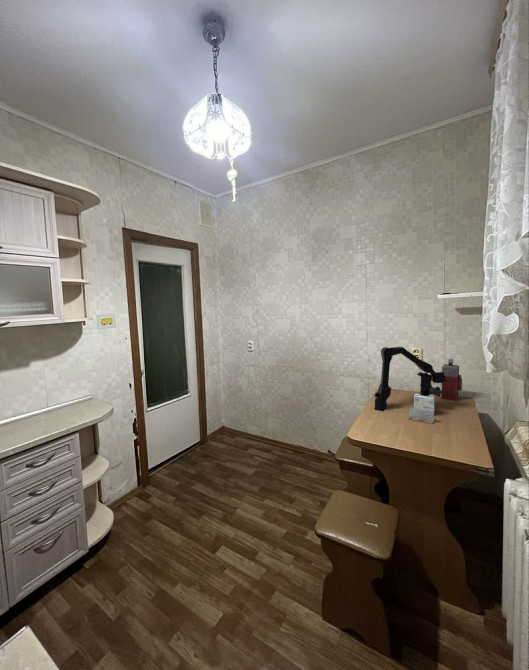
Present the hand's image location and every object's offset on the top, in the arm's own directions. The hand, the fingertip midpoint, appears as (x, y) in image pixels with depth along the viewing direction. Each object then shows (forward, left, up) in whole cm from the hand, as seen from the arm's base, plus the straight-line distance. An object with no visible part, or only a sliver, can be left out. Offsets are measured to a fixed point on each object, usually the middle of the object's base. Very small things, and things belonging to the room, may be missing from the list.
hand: (425, 407), depth 176 cm
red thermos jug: (+13, +30, -1) cm, 32 cm away
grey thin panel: (0, -22, -1) cm, 22 cm away
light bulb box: (0, -8, -1) cm, 8 cm away
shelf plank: (0, -23, -1) cm, 23 cm away
